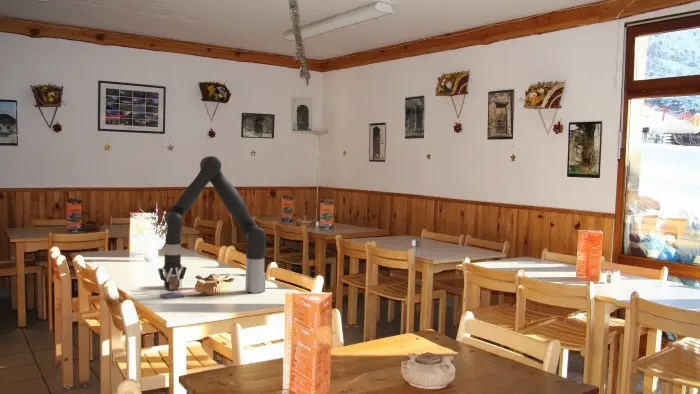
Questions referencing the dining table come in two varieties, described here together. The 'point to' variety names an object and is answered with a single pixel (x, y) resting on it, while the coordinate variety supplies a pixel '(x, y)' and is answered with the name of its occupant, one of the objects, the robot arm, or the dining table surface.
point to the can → (174, 276)
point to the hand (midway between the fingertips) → (172, 288)
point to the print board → (188, 291)
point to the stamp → (173, 284)
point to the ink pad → (171, 295)
